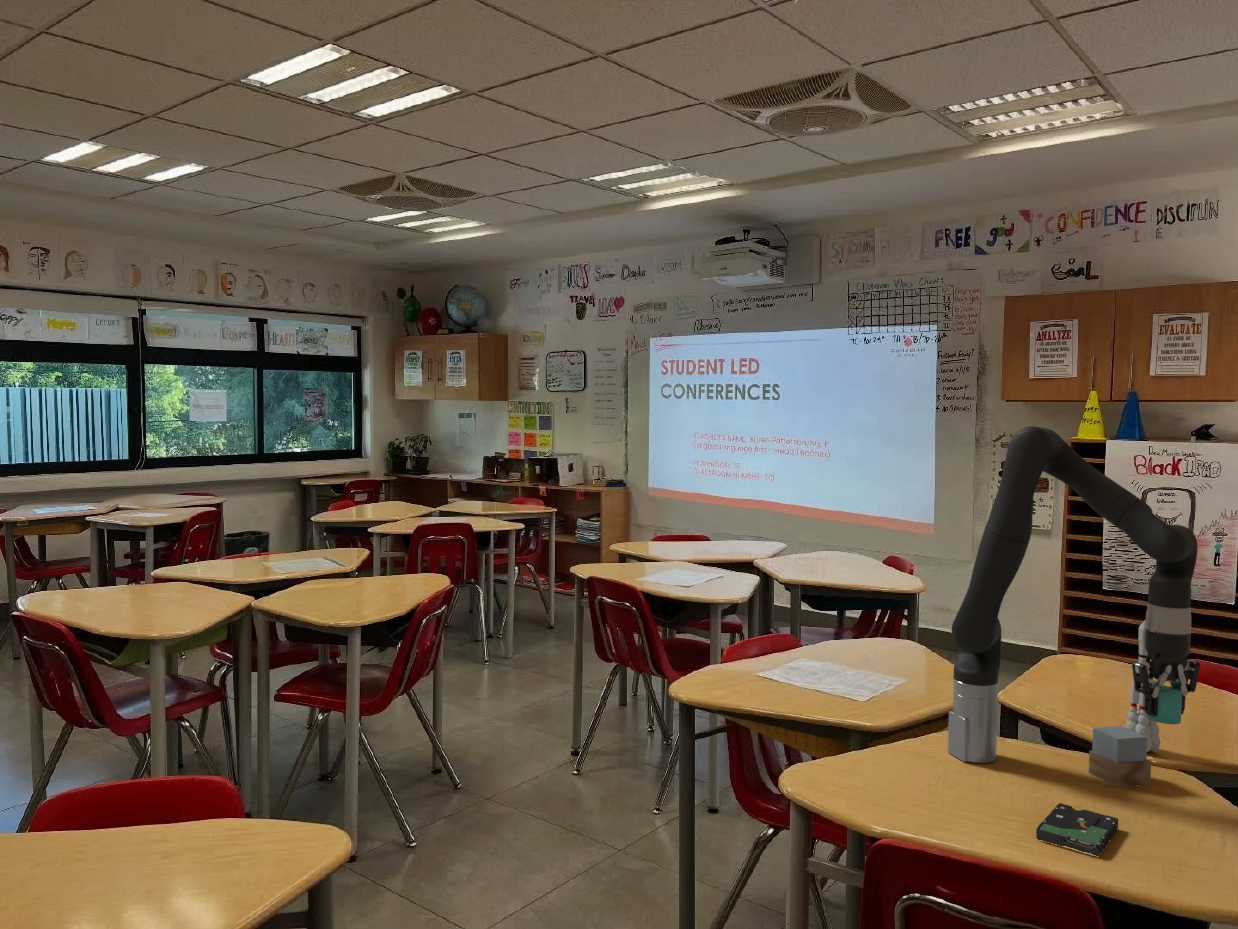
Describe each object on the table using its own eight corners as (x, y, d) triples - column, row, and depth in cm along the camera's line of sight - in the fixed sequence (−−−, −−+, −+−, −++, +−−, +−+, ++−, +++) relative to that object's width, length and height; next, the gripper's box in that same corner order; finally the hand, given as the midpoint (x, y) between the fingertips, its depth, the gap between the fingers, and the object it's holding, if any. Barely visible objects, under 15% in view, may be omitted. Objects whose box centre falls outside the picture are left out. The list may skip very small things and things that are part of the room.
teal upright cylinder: (1163, 725, 170) (1165, 694, 169) (1141, 716, 175) (1142, 685, 175) (1187, 723, 171) (1189, 692, 171) (1164, 714, 176) (1165, 684, 176)
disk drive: (1057, 816, 170) (1035, 843, 158) (1057, 802, 170) (1035, 827, 158) (1118, 832, 163) (1100, 861, 152) (1119, 817, 163) (1100, 845, 152)
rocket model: (1157, 747, 205) (1161, 618, 204) (1162, 758, 199) (1166, 625, 197) (1121, 743, 208) (1124, 616, 207) (1124, 753, 202) (1128, 622, 200)
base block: (1117, 788, 182) (1118, 764, 182) (1088, 773, 190) (1089, 750, 190) (1150, 785, 184) (1151, 761, 184) (1120, 770, 192) (1121, 748, 192)
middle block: (1117, 763, 183) (1117, 739, 182) (1092, 751, 189) (1092, 728, 189) (1146, 760, 184) (1146, 737, 184) (1120, 749, 191) (1121, 726, 191)
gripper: (1182, 622, 177) (1178, 706, 178) (1121, 625, 174) (1118, 710, 175) (1215, 631, 170) (1211, 718, 171) (1152, 634, 167) (1148, 723, 168)
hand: (1164, 714), depth 173 cm, fingers closed on teal upright cylinder, 5 cm apart
